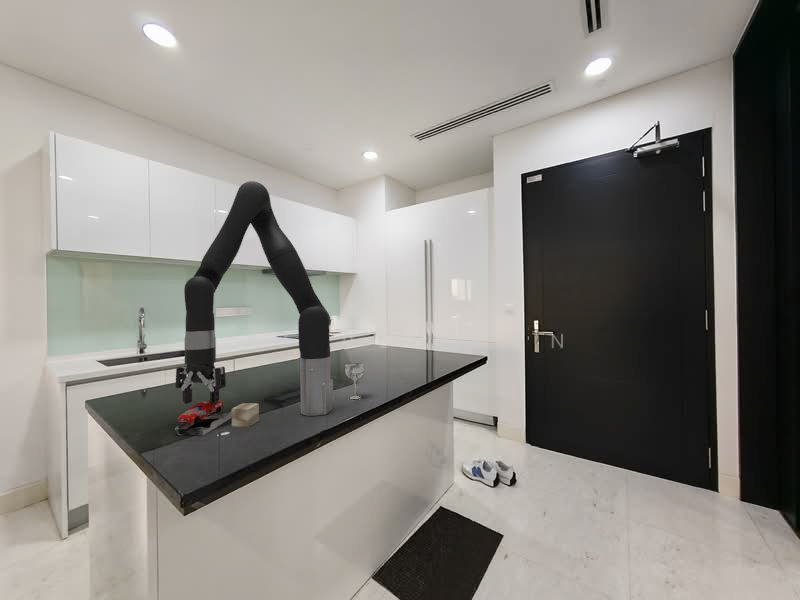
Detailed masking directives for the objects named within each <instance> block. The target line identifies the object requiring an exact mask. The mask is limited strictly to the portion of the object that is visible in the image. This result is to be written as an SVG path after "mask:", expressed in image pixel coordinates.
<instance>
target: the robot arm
mask: <svg viewBox="0 0 800 600" xmlns="http://www.w3.org/2000/svg"><path fill="white" fill-rule="evenodd" d="M271 204H272V203H271V197H270V193H269V191H268V189H267V188H266V187H265V186H264V185H263V184H262V183H260V182H258V181H255V180H254V181H253V180H251V181H246V182H244V183H242V184H241V185H240V186H239V187H238V189H237V192H236V195H235V197H234V199H233V203H232V205H231V207H230V209H229V212H228V214H227V216H226V218H225V220H224V222H223V225H222V226H221V227H220V230H219V232H218V233H217V235H216V237H214V240H213V241H212V243H211V244H210V246H209V247H208V249H207V250H206V252H205V254H204V255H203V257H202V260H201V263H200V266H199V268H198V269H197V270H196V272H195V274H194V276H193V277H191V278H189V279H188V280H187V281H186V283H185V285H184V304H185V312H186V313H185V332H184V333H185V336H184V365H183V366H178V367H176V370H175V389H180V390H181V391H182V402H183V404H184V405H188V404H190V403H192V402H193V389H192V387H193V386H194V384H196V383H199V384H204V386H205V387H207V388H208V389H209V400H210V405H214V404H217V403H218V401H220V390H221V389H223V388H226V386H227V383H226V368H225V366H220V367H216V366H215V362H216V361H217V359H216V356H217V349H216V347H217V346H216V344H217V341H216V339H217V338H216V330H215V314H214V313H215V312H214V303H215V302H214V301H215V297H214V296H215V293H216V291H217V289H218V287H219V286H220V283H221V281H222V279H223V277H224V275H225V274H226V272H227V271H228V270H229V269H230V267H231V266H232V263H233V261H234V260H235V258H236V257H237V254H238V252H239V250H240V249H241V246H242V244H243V240H244V237H245V235H246V233H247V230H248V228H249V226H250V225H251V226H252V227H253V229H254V231H255V233H256V234H257V237H258V238H259V242H260V244H261V247H262V250H263V252H264V255H265V257H266V259H267V262H268V264H269V266H270V268H271V270H272V272H273V273H274V275H275V277H276V278H277V279H276V280H278V281H279V282H280V284H281V286H282V287H283V288H284V290H285V291H286V292H287V294H288V295H289V296H290V298H291V299H292V301H293V303H294V305H295V307H296V309H297V311H298V314H299V317H298V325H297V326H298V349H299V355H300V357H299V359H300V361H299V362H300V363H299V364H300V368H299V370H300V375H299V376H300V377H299V378H300V413H301V415H303V416H308V417H309V416H310V417H313V416H314V417H315V416H316V417H317V416H321V415H324V416H325V415H327V414H328V413H330V412H331V411H332V410H333V409H334V380H333V379H332V378H331V346H330V345H331V344H330V325H331V316H330V313H329V312H328V311H327V309H326V307H325V306H324V305H323V303H322V302H321V300H320V298H319V297H318V296H317V294H316V292H315V290H314V289H313V286H312V283H311V281H310V277H309V275H308V272H307V271H306V268H305V265H304V264H303V261H302V260H301V258H300V256H299V253H298V251H297V249H296V248H295V247H294V245H293V243H292V242H291V240H290V239H289V238H288V236H287V235H286V234H285V232H284V231H283V230H282V229H281V227H280V224H279V222H278V220H277V218H276V216H275V214H274V211H273V208H272V205H271Z"/></svg>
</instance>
